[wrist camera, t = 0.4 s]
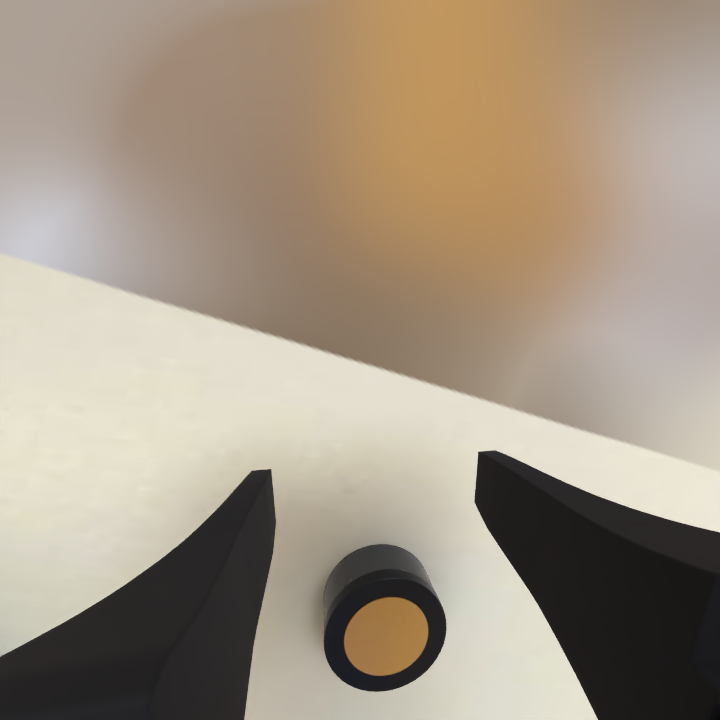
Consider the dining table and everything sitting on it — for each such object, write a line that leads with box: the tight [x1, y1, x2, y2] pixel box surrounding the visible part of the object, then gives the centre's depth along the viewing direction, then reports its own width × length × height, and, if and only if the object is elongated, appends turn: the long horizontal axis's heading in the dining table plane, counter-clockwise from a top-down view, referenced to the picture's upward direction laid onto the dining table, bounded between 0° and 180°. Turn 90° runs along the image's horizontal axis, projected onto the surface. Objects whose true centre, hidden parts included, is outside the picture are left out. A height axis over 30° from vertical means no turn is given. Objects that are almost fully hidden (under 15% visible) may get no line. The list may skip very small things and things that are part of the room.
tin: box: [323, 545, 446, 692], centre depth 22 cm, size 8×8×3 cm
